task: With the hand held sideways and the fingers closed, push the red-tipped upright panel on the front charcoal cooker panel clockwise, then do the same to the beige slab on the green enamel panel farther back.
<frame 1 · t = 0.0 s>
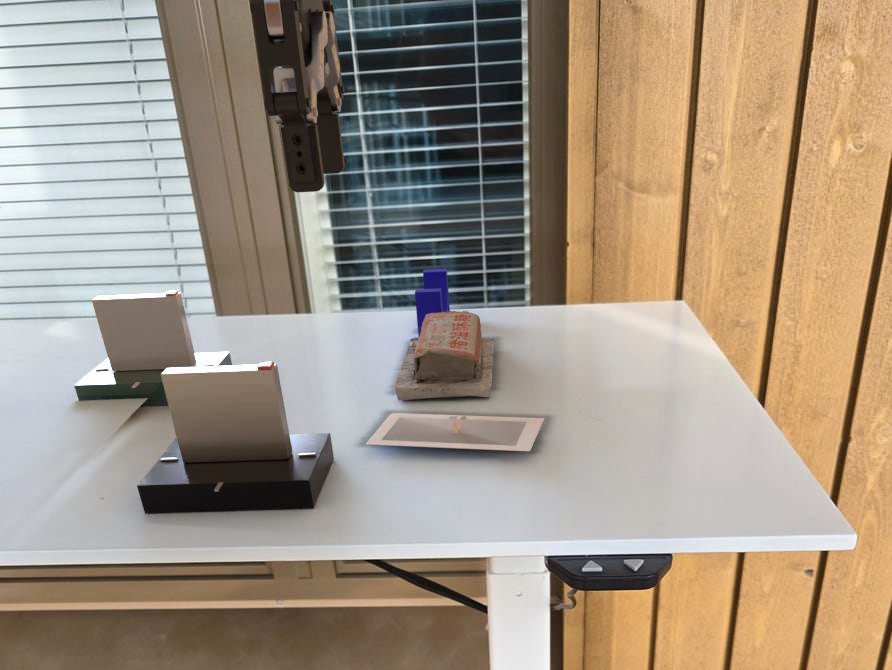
hand: (319, 181, 61), 23 cm above the table, tool pointing down, fingers open, 8 cm apart
beige slab: (145, 331, 95), point 6 cm above the table, hinge at 0.0°
red-tipped upright panel: (228, 412, 72), point 6 cm above the table, hinge at 0.0°
brown block with base: (448, 375, 98), on the table
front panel: (244, 485, 76), on the table
blue stepped block: (441, 330, 113), on the table
back panel: (160, 390, 98), on the table
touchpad: (457, 444, 82), on the table
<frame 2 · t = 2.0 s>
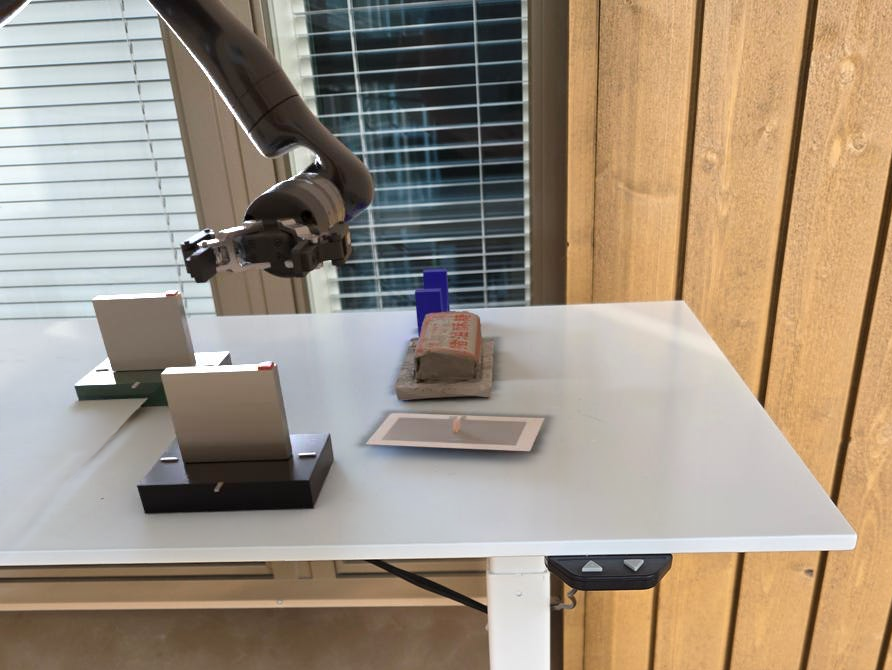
hand: (246, 267, 73), 16 cm above the table, tool horizontal, fingers open, 8 cm apart
nothing on the table moved.
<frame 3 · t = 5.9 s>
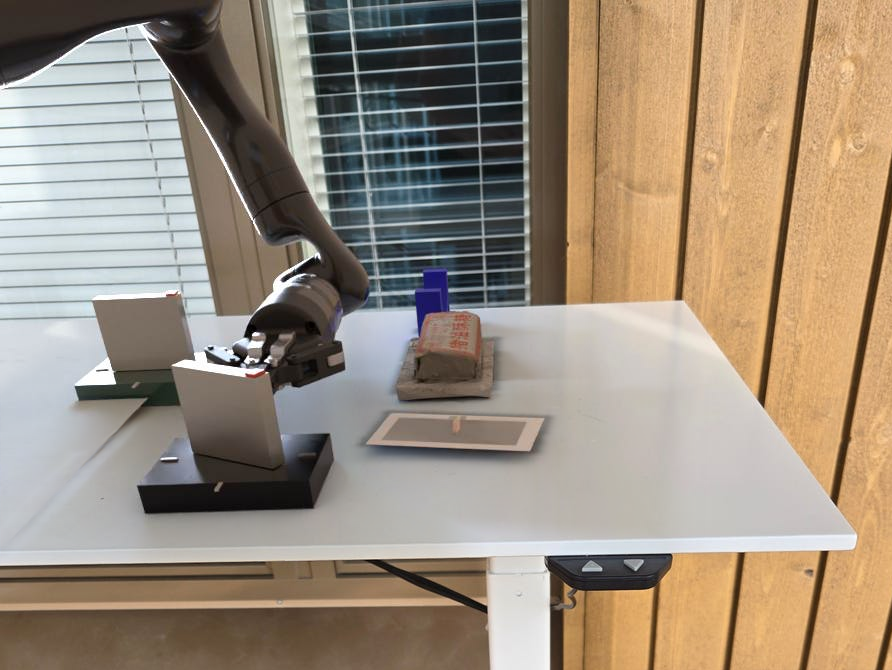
hand: (252, 392, 71), 8 cm above the table, tool horizontal, fingers closed
red-tipped upright panel: (228, 412, 72), point 6 cm above the table, hinge at -27.8°, touching gripper
everything else where it was.
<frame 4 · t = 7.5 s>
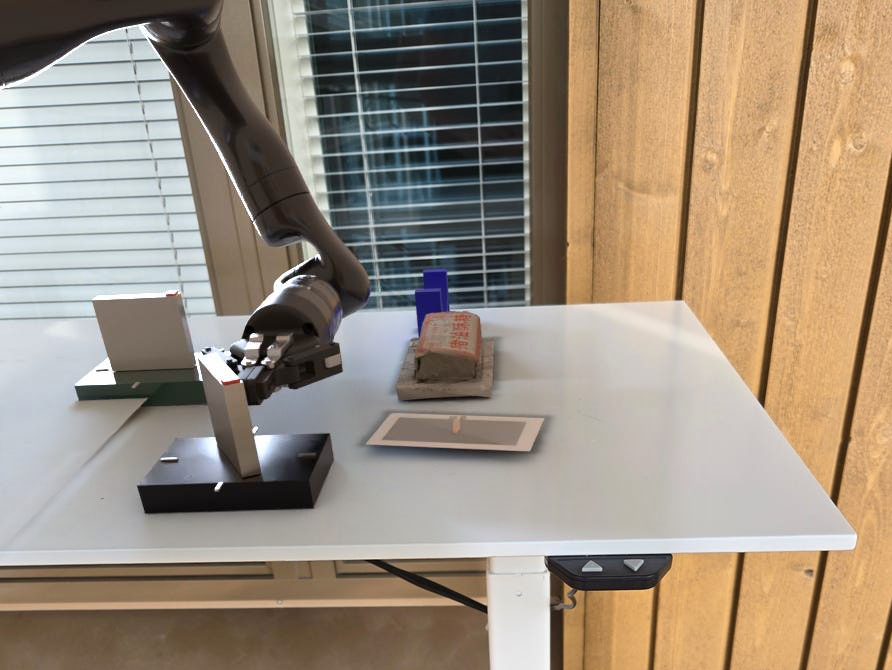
hand: (248, 394, 71), 8 cm above the table, tool horizontal, fingers closed
red-tipped upright panel: (228, 412, 72), point 6 cm above the table, hinge at -61.2°
everything else where it was.
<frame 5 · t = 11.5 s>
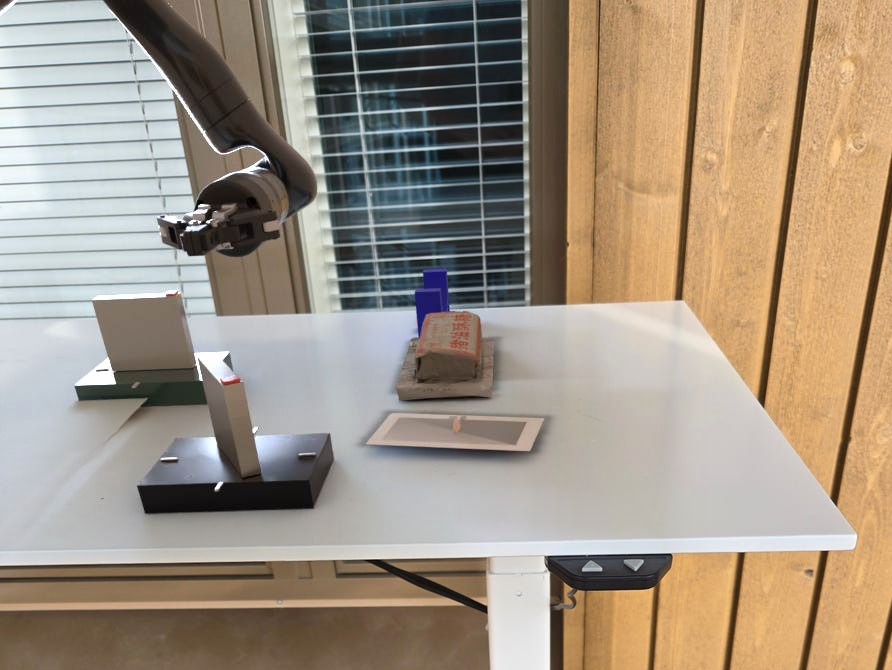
hand: (192, 244, 83), 16 cm above the table, tool horizontal, fingers closed
nothing on the table moved.
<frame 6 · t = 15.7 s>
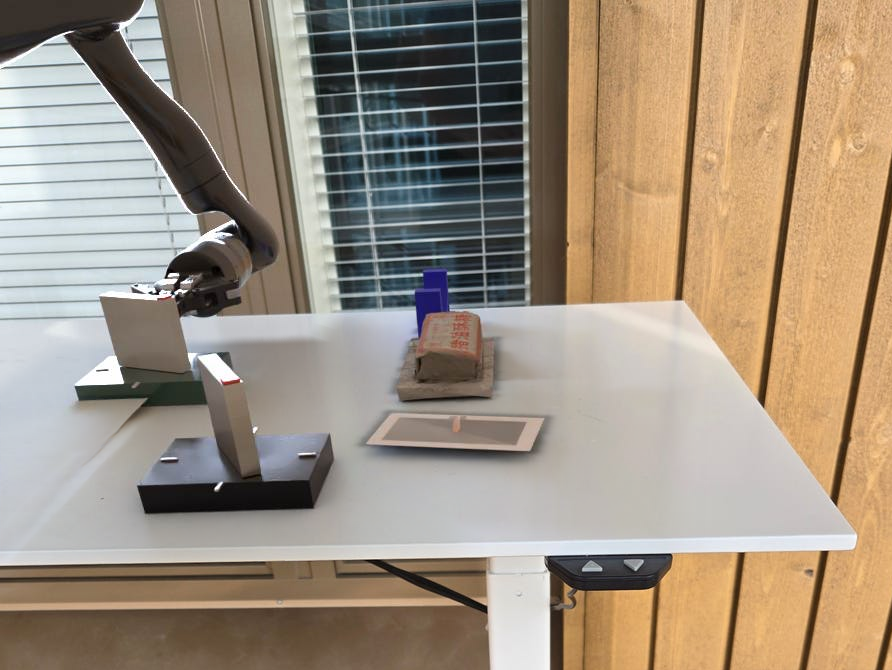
hand: (162, 314, 94), 8 cm above the table, tool horizontal, fingers closed
beige slab: (145, 331, 95), point 6 cm above the table, hinge at -23.2°, touching gripper
everything else where it was.
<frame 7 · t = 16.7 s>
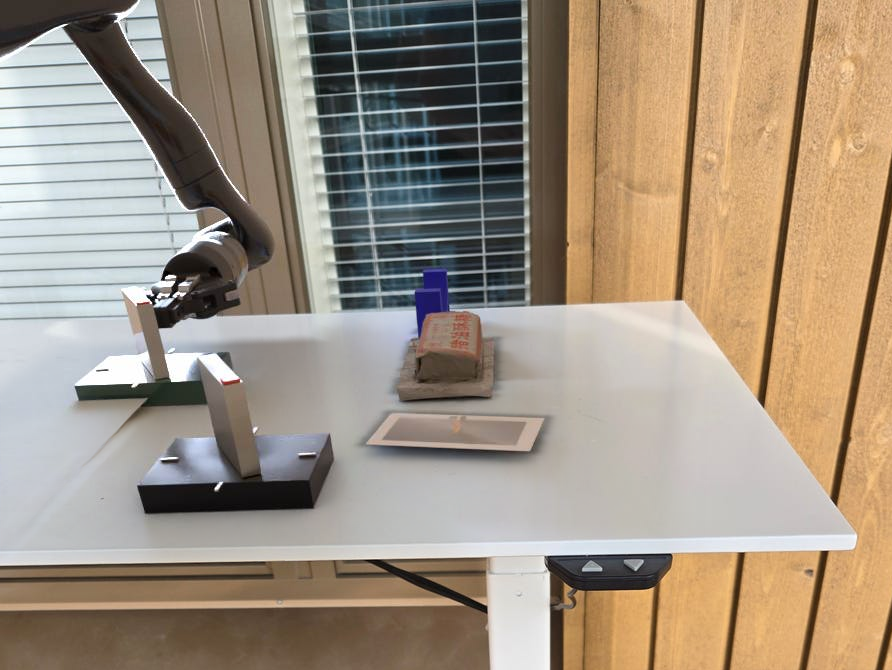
hand: (161, 318, 92), 8 cm above the table, tool horizontal, fingers closed
beige slab: (145, 331, 95), point 6 cm above the table, hinge at -60.3°, touching gripper, hand
everything else where it was.
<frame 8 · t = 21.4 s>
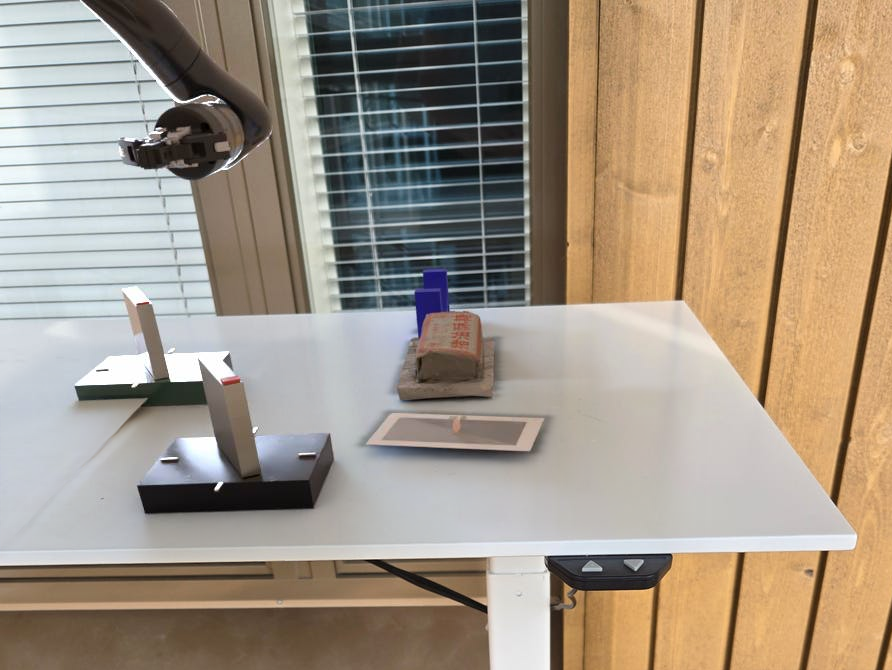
hand: (147, 157, 91), 22 cm above the table, tool horizontal, fingers closed
beige slab: (145, 331, 95), point 6 cm above the table, hinge at -60.9°
everything else where it was.
at the end: red-tipped upright panel at -61° (first picture: +0°); beige slab at -61° (first picture: +0°) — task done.
